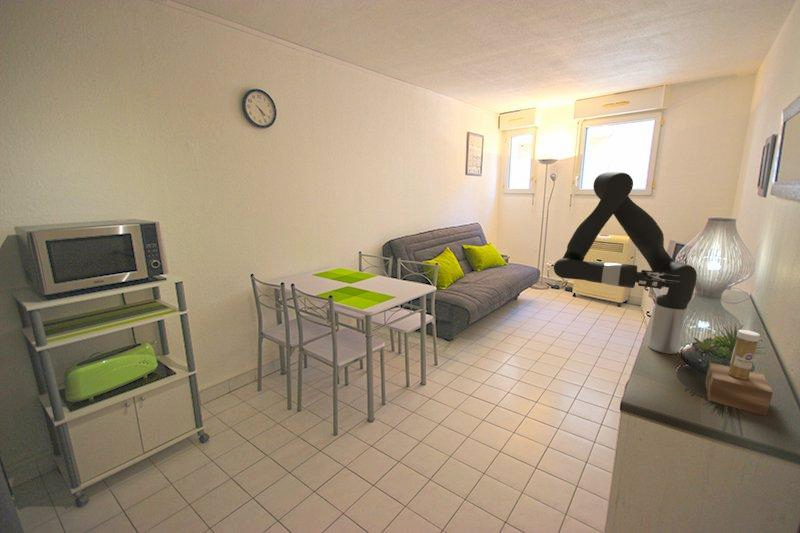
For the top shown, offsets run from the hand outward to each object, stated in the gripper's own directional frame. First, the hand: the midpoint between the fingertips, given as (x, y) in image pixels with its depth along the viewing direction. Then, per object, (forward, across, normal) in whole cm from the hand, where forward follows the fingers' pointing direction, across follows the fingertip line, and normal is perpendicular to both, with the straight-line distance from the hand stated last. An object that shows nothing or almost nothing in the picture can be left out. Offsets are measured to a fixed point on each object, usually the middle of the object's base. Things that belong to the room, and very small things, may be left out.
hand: (680, 282), depth 111 cm
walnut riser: (+16, -4, +31) cm, 36 cm away
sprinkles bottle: (+16, -4, +24) cm, 30 cm away
